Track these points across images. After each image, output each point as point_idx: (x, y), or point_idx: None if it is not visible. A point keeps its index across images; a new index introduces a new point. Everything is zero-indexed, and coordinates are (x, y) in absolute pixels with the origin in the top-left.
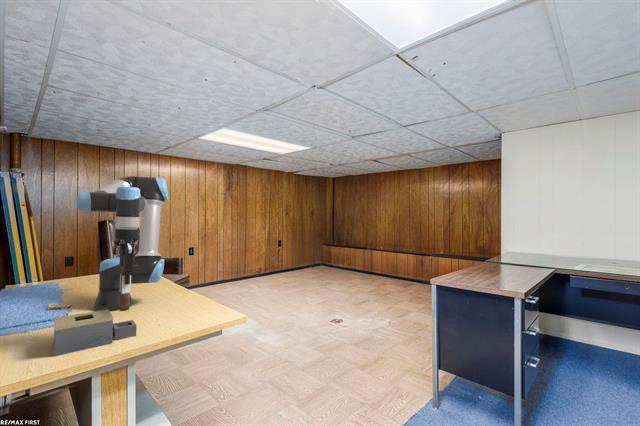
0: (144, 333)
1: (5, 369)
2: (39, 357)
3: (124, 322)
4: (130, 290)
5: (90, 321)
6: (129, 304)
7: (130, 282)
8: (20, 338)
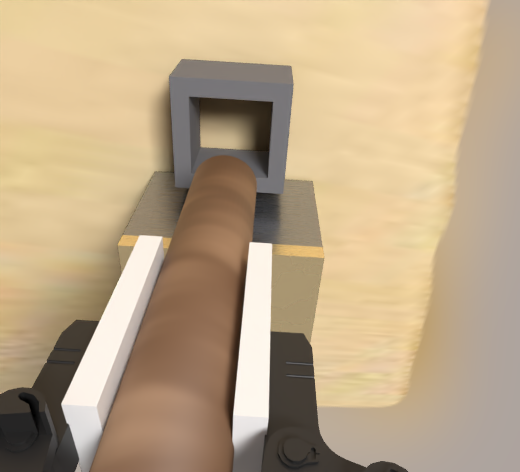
0: (278, 10)
1: None
2: None
3: (190, 128)
4: (270, 258)
5: (310, 340)
6: (231, 174)
7: (268, 327)
8: (33, 378)
